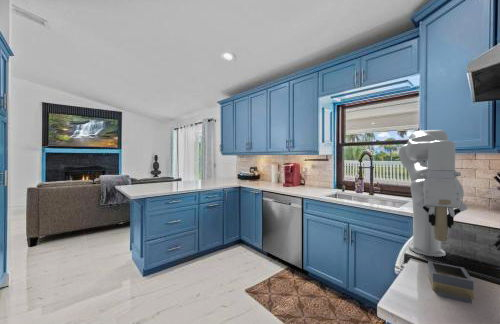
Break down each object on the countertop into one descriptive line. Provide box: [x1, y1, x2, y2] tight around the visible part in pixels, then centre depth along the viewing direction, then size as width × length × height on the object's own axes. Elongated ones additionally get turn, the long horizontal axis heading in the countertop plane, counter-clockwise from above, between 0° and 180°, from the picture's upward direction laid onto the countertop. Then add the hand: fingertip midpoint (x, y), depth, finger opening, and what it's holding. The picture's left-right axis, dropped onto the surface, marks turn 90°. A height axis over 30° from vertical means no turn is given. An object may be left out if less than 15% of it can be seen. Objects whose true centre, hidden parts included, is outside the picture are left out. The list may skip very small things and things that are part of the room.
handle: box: [434, 200, 451, 242], centre depth 81 cm, size 5×6×15 cm
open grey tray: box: [427, 260, 475, 304], centre depth 70 cm, size 16×9×5 cm, turn 148°
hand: (440, 225), depth 81 cm, fingers closed on handle, 4 cm apart
